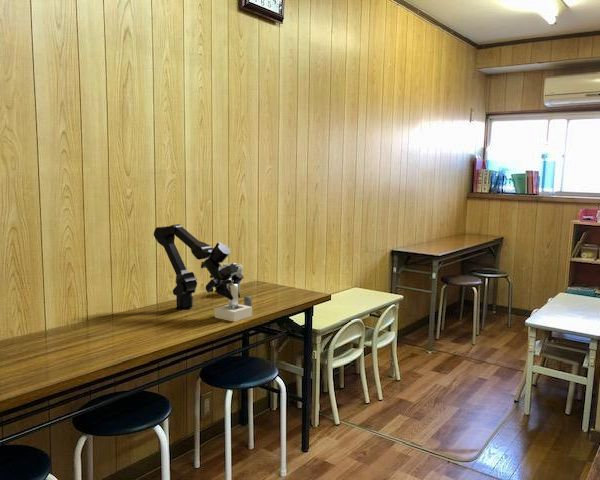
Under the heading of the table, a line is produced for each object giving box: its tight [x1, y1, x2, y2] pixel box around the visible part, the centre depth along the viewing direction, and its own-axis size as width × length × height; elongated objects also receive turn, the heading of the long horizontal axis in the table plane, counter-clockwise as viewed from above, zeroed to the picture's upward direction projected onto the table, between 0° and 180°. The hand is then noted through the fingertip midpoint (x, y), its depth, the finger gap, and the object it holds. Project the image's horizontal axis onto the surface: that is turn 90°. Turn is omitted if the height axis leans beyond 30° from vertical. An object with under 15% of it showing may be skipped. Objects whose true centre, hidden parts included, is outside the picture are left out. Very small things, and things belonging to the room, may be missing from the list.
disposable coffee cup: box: [221, 262, 244, 291], centre depth 267 cm, size 11×11×15 cm
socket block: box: [214, 303, 253, 322], centre depth 221 cm, size 11×11×4 cm
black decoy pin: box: [243, 295, 253, 308], centre depth 232 cm, size 3×3×6 cm
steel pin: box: [228, 283, 239, 310], centre depth 220 cm, size 4×4×12 cm
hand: (235, 298), depth 220 cm, fingers open, 4 cm apart
